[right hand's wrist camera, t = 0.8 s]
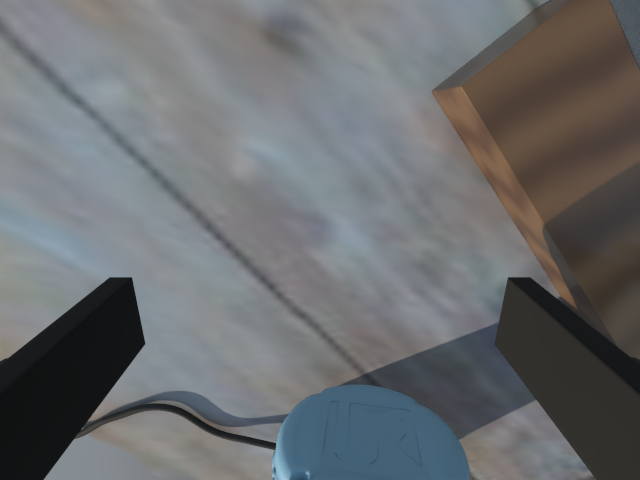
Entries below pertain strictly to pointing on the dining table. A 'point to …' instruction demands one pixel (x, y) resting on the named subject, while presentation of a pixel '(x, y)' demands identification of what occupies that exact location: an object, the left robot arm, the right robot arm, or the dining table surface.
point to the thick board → (564, 152)
